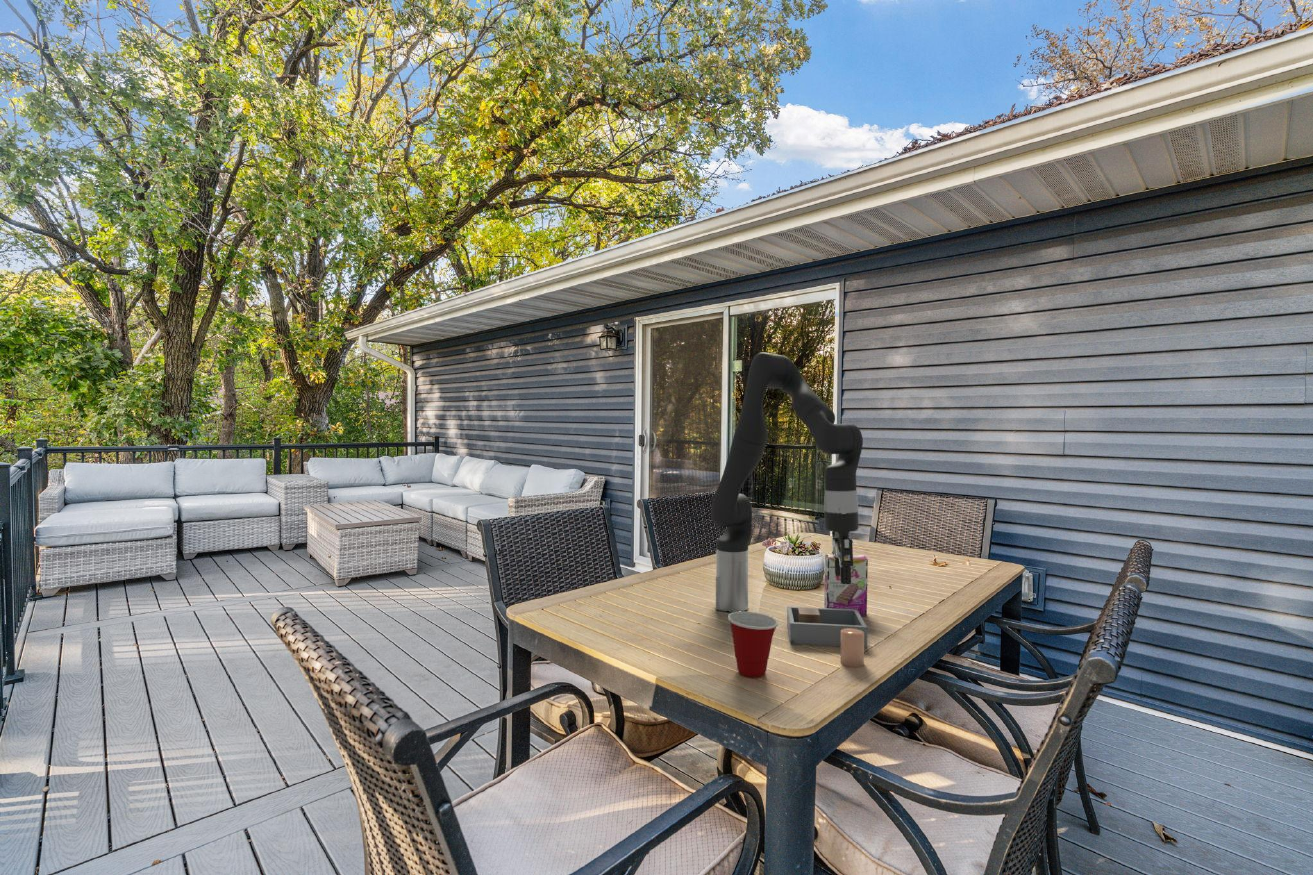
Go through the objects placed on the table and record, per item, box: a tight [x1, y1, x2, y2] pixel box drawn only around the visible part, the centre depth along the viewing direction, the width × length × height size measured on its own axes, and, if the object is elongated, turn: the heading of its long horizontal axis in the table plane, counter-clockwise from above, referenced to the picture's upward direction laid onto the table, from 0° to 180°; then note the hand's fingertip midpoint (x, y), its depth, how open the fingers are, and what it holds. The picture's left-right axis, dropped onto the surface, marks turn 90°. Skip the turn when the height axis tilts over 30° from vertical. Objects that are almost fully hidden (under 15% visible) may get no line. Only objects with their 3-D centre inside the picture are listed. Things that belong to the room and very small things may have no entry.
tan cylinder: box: [840, 628, 865, 668], centre depth 135 cm, size 5×5×7 cm
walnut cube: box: [798, 608, 820, 624], centre depth 153 cm, size 5×5×5 cm
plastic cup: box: [727, 611, 779, 679], centre depth 130 cm, size 11×11×12 cm
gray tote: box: [786, 606, 868, 649], centre depth 152 cm, size 18×14×5 cm
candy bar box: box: [823, 553, 869, 617], centre depth 171 cm, size 11×5×16 cm, turn 84°
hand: (842, 579), depth 140 cm, fingers open, 8 cm apart
